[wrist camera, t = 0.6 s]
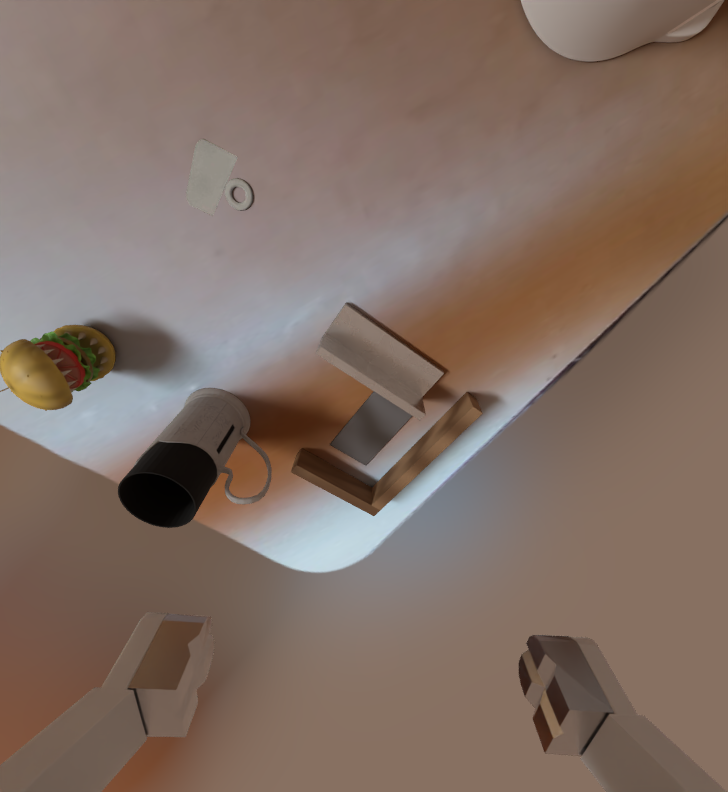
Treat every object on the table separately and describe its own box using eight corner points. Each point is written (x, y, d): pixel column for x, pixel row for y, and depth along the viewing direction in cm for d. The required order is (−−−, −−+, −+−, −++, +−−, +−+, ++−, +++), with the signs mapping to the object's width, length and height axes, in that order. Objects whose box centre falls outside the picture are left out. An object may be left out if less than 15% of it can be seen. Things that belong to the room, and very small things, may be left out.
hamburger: (134, 372, 46) (60, 427, 35) (81, 378, 46) (-5, 433, 36) (103, 312, 42) (12, 354, 32) (47, 319, 43) (-61, 363, 32)
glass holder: (180, 383, 46) (101, 460, 33) (292, 399, 47) (257, 481, 34) (187, 438, 51) (120, 526, 38) (290, 452, 51) (258, 543, 38)
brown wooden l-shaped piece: (388, 337, 42) (389, 349, 39) (475, 398, 45) (482, 413, 42) (296, 455, 51) (290, 472, 48) (374, 497, 55) (374, 516, 52)
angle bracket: (322, 336, 42) (315, 353, 38) (346, 301, 40) (341, 315, 36) (416, 398, 46) (419, 420, 42) (443, 369, 44) (449, 389, 40)
